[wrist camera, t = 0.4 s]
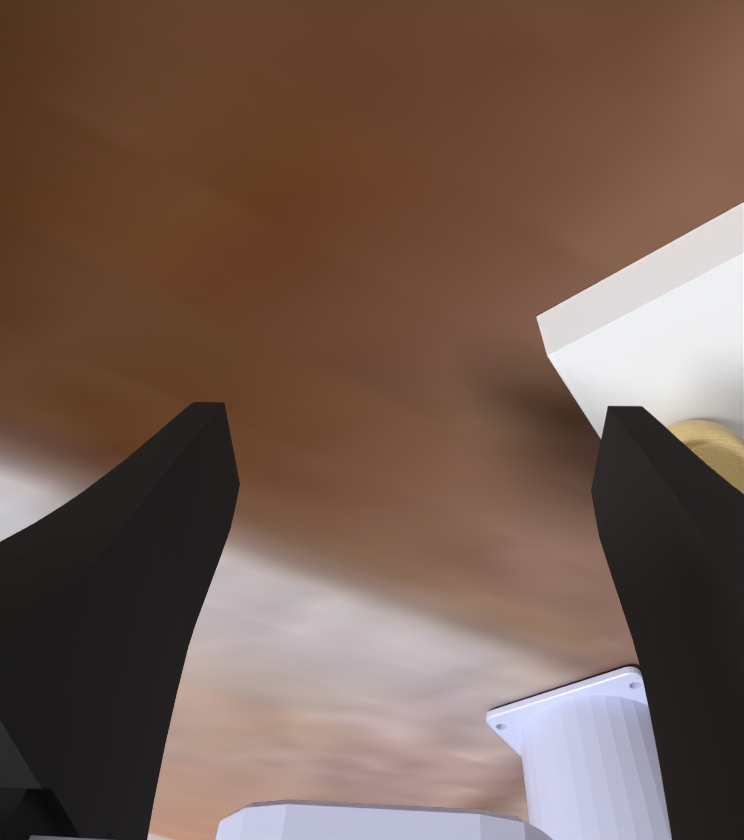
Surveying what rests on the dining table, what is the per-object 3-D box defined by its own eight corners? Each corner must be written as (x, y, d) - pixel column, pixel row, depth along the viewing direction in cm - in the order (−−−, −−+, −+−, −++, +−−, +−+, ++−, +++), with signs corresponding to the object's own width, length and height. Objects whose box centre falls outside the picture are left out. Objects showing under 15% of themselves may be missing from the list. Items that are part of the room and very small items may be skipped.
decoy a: (749, 453, 22) (793, 525, 19) (651, 494, 23) (679, 567, 20) (712, 381, 20) (754, 447, 18) (610, 428, 21) (635, 497, 19)
